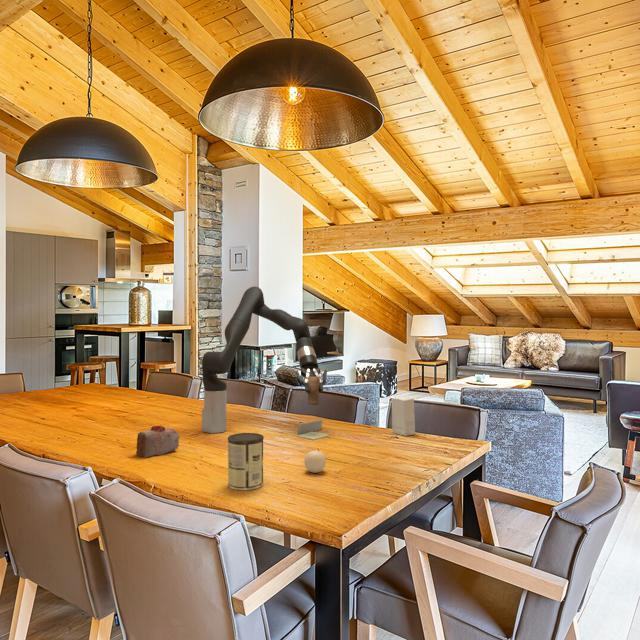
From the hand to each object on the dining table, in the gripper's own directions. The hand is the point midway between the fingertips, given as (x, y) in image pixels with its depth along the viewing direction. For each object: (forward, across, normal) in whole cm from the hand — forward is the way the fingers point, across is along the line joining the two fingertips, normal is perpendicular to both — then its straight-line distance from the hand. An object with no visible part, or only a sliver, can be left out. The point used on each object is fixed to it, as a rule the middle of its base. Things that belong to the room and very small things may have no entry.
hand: (314, 392), depth 218 cm
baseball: (+45, +13, +20) cm, 51 cm away
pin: (+2, 0, -5) cm, 6 cm away
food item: (+20, +60, -6) cm, 64 cm away
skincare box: (+15, -37, -10) cm, 41 cm away
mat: (+12, 0, -14) cm, 18 cm away
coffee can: (+51, +36, +25) cm, 67 cm away
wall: (+6, -1, -19) cm, 20 cm away
